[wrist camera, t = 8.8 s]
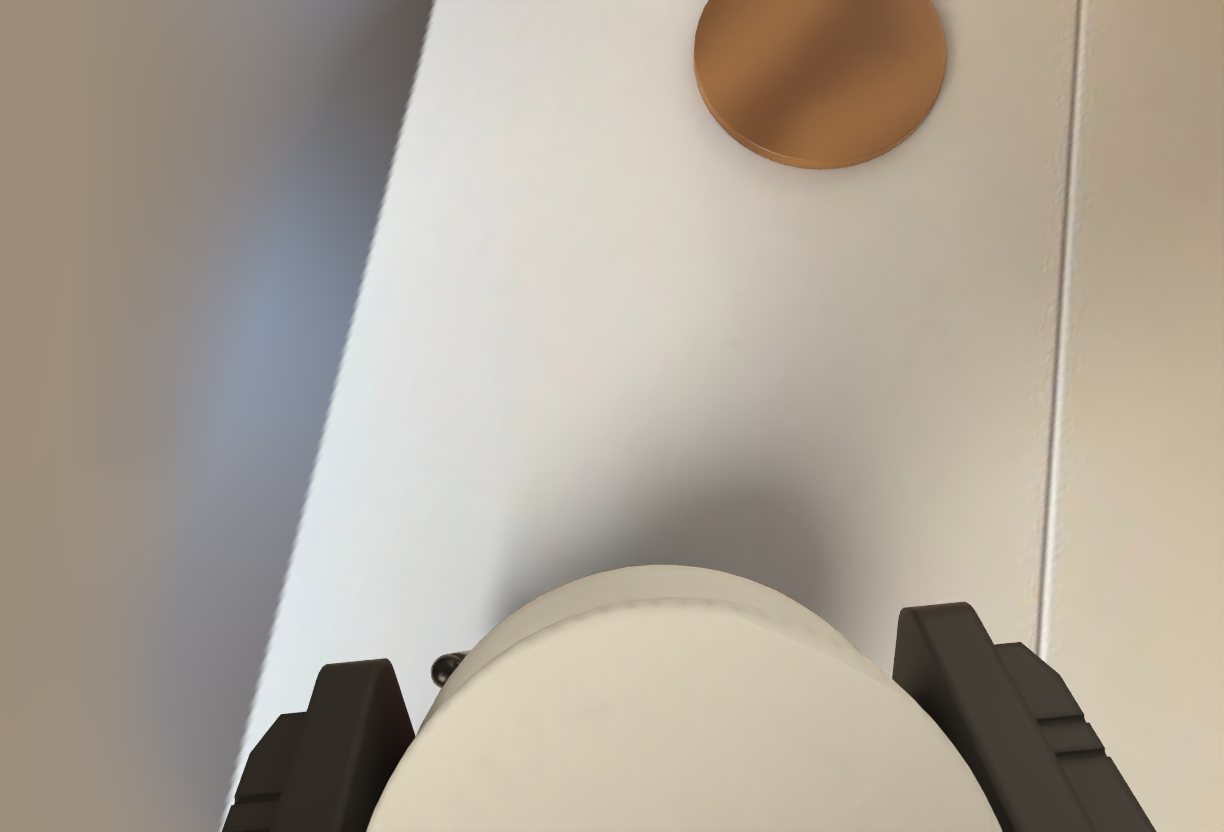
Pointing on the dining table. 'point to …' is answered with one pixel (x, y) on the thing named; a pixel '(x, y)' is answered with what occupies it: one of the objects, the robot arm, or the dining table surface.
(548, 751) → the pill bottle
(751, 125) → the coaster
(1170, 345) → the dining table surface
